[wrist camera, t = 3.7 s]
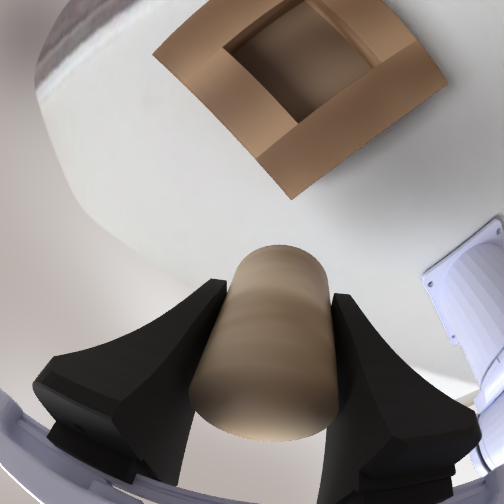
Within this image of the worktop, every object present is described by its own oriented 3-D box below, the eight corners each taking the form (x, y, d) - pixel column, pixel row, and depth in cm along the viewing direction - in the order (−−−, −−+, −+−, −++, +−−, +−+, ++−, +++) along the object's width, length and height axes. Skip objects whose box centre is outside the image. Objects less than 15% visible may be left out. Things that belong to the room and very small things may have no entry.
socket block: (426, 87, 12) (448, 83, 10) (292, 186, 17) (291, 200, 14) (304, -38, 10) (304, -61, 7) (174, 62, 14) (152, 54, 12)
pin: (346, 294, 12) (364, 417, 6) (274, 336, 13) (256, 449, 8) (287, 225, 11) (271, 337, 5) (215, 280, 12) (161, 390, 7)
